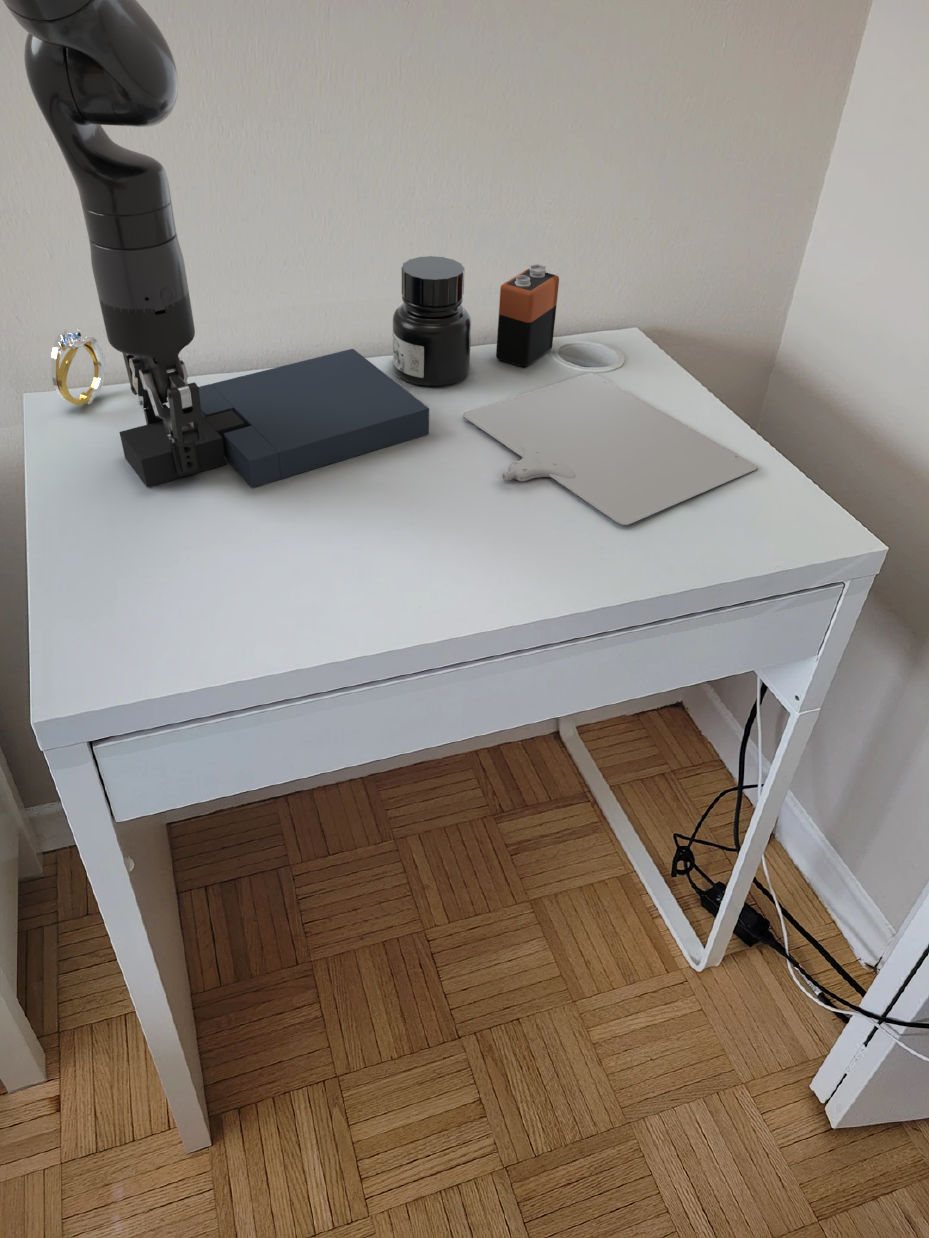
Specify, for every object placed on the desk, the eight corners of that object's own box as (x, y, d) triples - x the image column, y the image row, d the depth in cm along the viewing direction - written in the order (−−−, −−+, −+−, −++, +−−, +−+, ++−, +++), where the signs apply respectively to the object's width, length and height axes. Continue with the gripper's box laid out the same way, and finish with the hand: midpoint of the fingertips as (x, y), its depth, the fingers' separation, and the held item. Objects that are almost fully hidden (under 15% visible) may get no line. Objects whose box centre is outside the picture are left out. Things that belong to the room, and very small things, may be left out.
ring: (76, 420, 99) (58, 348, 93) (52, 413, 99) (32, 341, 94) (121, 392, 103) (105, 322, 98) (97, 386, 104) (81, 315, 99)
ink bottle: (388, 353, 113) (386, 252, 105) (460, 350, 114) (464, 250, 107) (399, 392, 106) (398, 286, 98) (476, 388, 107) (482, 283, 99)
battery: (553, 349, 116) (562, 267, 109) (525, 369, 111) (533, 286, 105) (522, 340, 117) (529, 259, 111) (494, 359, 113) (499, 276, 106)
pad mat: (252, 488, 90) (248, 461, 88) (187, 416, 100) (183, 390, 98) (429, 434, 99) (429, 408, 97) (354, 372, 109) (352, 348, 107)
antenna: (429, 428, 100) (429, 418, 99) (591, 377, 112) (593, 367, 111) (591, 545, 85) (593, 535, 85) (758, 472, 97) (761, 462, 96)
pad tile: (147, 487, 90) (141, 460, 88) (125, 458, 93) (119, 431, 91) (254, 456, 95) (251, 429, 93) (229, 429, 98) (226, 403, 96)
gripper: (73, 268, 85) (112, 434, 96) (129, 328, 76) (164, 503, 87) (155, 253, 88) (183, 415, 99) (217, 309, 79) (241, 480, 90)
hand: (174, 456), depth 93 cm, fingers closed on pad tile, 6 cm apart
